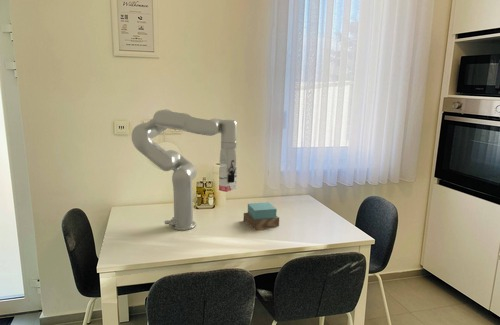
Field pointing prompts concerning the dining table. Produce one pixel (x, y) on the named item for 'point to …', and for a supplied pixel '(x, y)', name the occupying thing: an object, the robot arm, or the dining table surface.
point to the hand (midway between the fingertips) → (227, 180)
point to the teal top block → (261, 211)
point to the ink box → (226, 180)
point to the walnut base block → (260, 222)
